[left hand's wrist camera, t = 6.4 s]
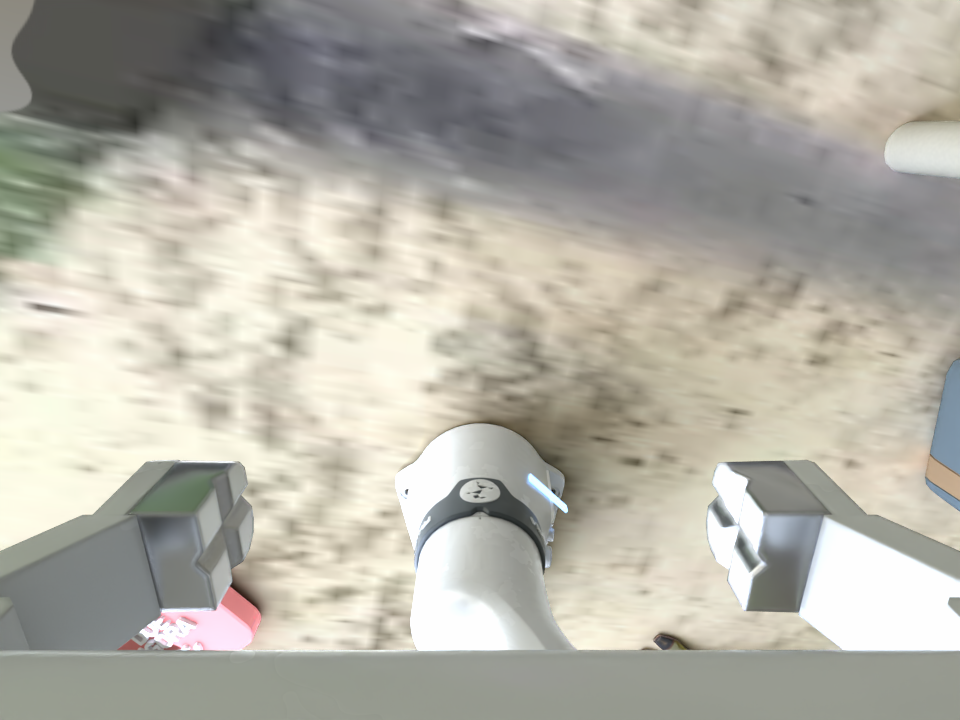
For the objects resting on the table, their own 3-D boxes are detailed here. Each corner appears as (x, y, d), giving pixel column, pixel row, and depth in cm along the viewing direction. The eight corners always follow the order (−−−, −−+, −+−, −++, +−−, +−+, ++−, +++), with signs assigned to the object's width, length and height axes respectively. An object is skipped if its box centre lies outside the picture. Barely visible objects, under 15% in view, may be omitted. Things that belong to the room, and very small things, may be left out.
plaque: (178, 721, 74) (81, 652, 70) (192, 693, 78) (100, 627, 74) (276, 653, 70) (178, 576, 66) (286, 628, 74) (194, 553, 70)
